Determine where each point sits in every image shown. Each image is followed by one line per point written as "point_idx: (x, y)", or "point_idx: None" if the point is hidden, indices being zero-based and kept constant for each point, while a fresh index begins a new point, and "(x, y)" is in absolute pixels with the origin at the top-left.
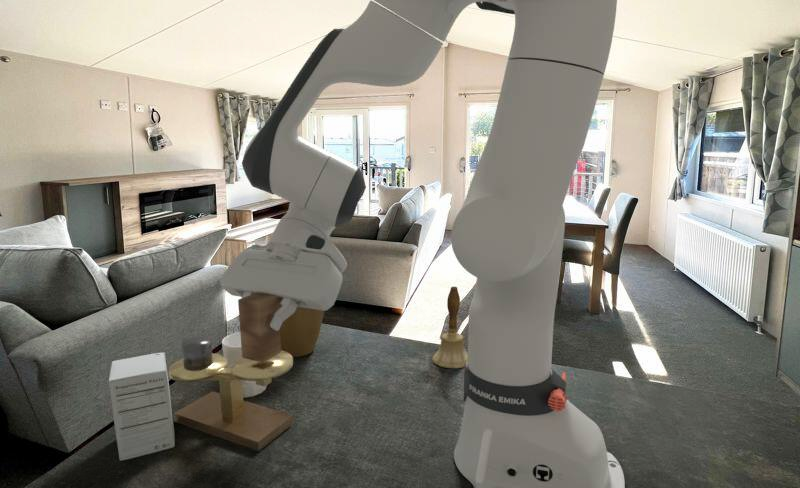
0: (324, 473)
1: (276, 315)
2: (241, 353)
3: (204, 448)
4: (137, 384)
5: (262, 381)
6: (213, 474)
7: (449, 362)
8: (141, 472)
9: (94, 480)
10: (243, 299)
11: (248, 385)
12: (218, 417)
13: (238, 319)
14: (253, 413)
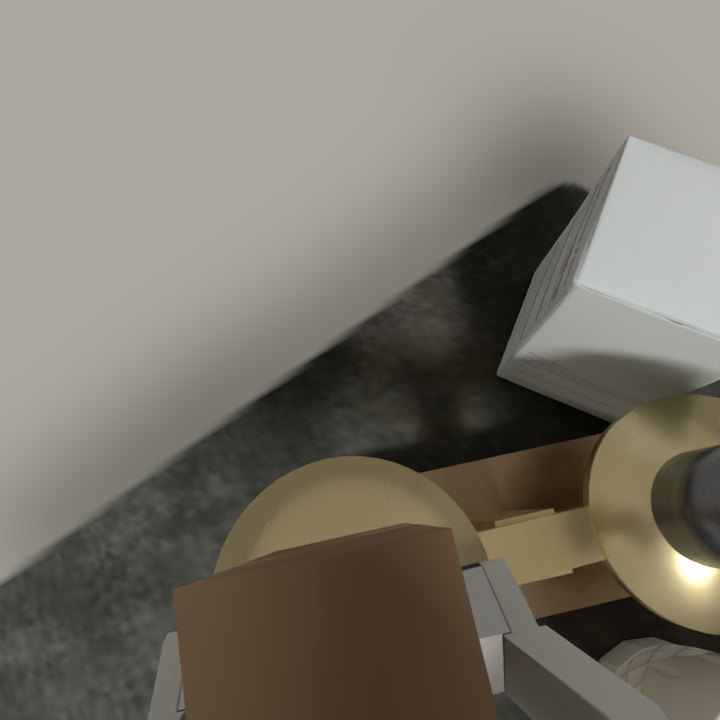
0: (96, 548)
1: (153, 713)
2: (693, 711)
3: (431, 418)
4: (588, 218)
5: None
6: (321, 379)
7: None
8: (456, 287)
9: (505, 221)
10: (417, 570)
11: None
12: (507, 499)
13: (493, 561)
14: None
